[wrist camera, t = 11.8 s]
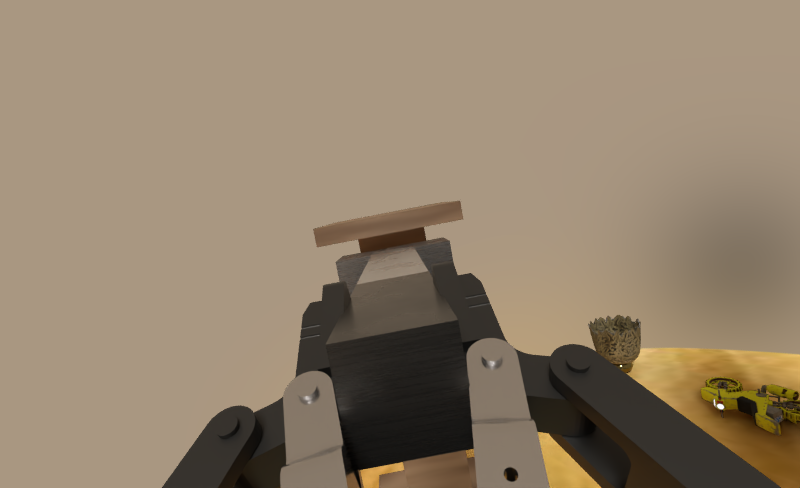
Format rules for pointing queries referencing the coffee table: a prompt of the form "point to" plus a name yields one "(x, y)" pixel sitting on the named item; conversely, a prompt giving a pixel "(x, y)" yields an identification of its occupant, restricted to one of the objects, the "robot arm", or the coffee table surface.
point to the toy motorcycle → (754, 402)
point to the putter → (399, 359)
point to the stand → (432, 476)
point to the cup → (617, 340)
